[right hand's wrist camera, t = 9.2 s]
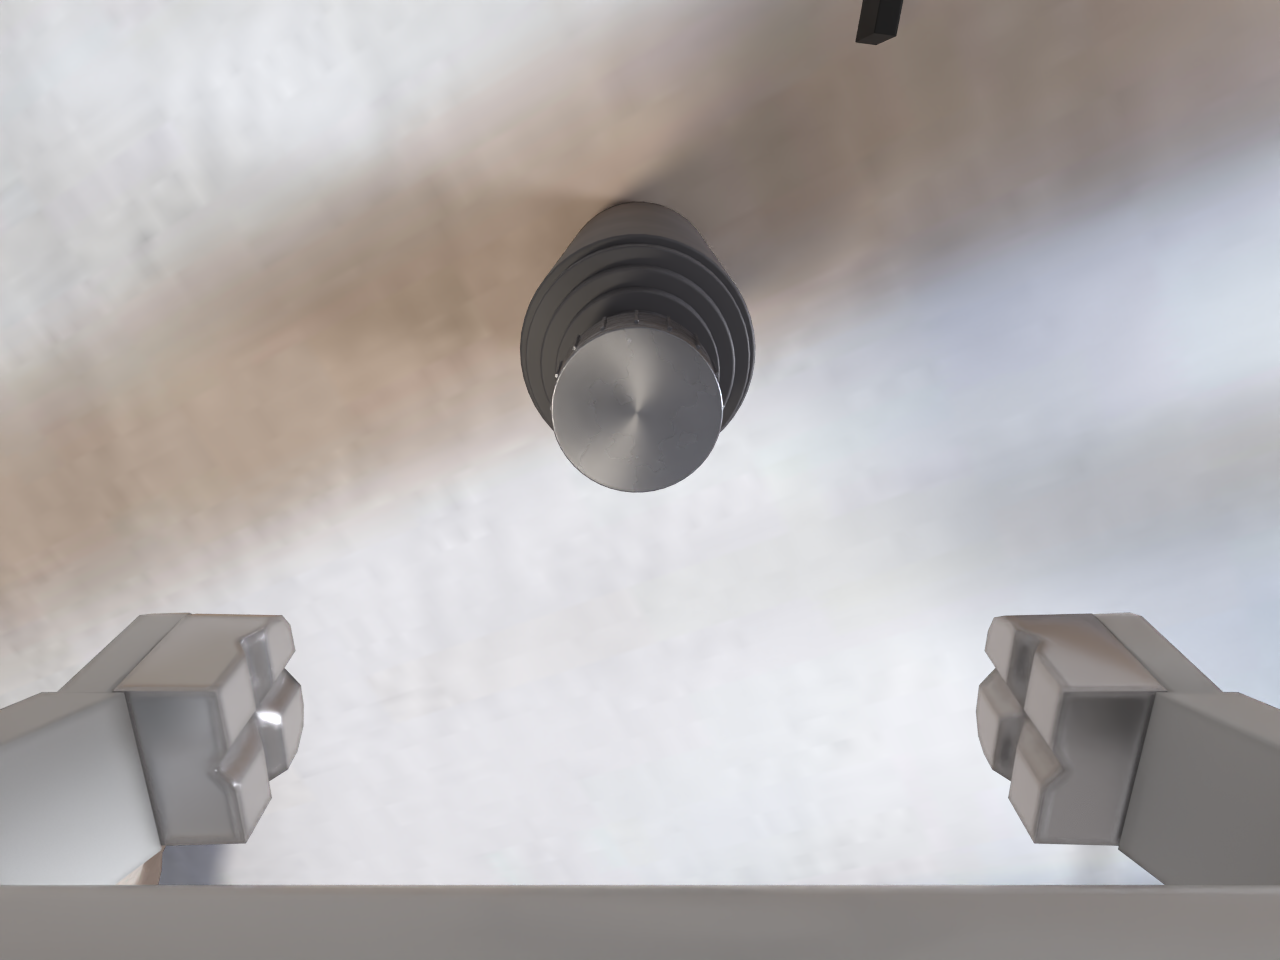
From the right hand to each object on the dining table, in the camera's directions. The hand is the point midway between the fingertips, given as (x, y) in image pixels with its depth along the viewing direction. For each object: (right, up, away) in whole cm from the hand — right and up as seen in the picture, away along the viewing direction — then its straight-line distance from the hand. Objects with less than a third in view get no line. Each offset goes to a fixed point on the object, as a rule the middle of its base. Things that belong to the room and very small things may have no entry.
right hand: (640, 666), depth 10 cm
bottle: (0, +11, +29) cm, 32 cm away
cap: (0, +4, +10) cm, 11 cm away
